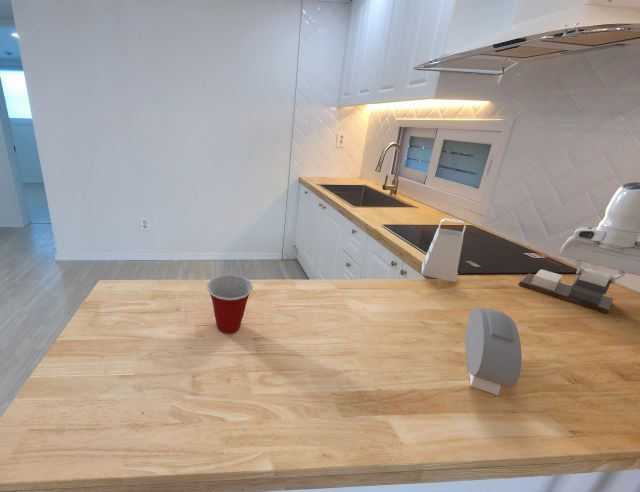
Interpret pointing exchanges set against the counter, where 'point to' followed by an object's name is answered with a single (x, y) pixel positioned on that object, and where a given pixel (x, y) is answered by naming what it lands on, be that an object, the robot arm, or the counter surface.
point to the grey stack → (588, 291)
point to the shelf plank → (566, 294)
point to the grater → (444, 253)
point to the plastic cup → (229, 300)
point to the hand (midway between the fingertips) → (594, 278)
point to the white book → (595, 277)
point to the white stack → (547, 279)
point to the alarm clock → (492, 350)
